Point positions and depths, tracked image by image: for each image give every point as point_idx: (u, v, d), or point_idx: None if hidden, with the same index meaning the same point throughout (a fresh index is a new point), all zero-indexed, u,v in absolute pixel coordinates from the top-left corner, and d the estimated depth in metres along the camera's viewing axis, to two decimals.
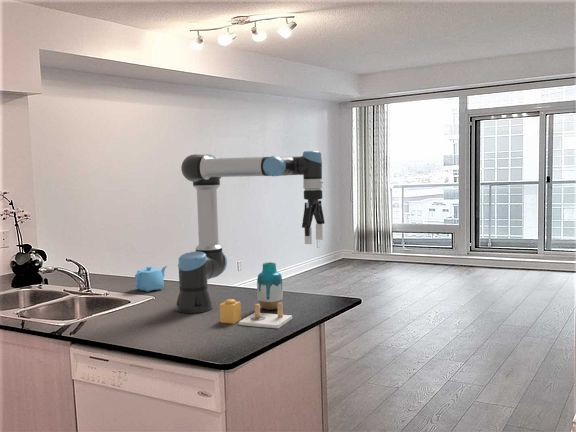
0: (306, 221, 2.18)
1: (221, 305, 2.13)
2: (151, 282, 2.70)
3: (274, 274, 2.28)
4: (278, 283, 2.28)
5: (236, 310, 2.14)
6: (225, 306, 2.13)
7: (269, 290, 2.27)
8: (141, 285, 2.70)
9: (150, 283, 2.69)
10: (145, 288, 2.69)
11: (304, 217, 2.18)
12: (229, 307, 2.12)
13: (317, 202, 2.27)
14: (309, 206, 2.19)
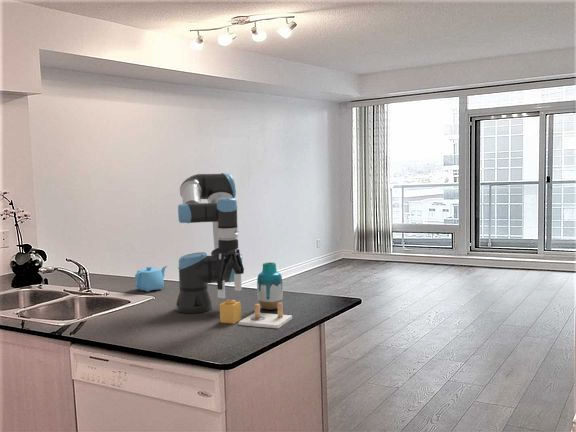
0: (218, 274, 2.05)
1: (221, 305, 2.13)
2: (151, 282, 2.70)
3: (274, 274, 2.28)
4: (278, 283, 2.28)
5: (236, 310, 2.14)
6: (225, 306, 2.13)
7: (269, 290, 2.27)
8: (141, 285, 2.70)
9: (150, 283, 2.69)
10: (145, 288, 2.69)
11: (216, 269, 2.06)
12: (229, 307, 2.12)
13: (233, 252, 2.15)
14: (221, 258, 2.07)
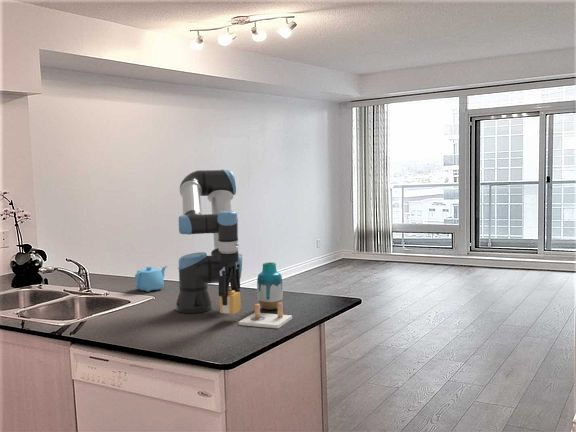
0: (222, 291, 2.09)
1: None
2: (151, 282, 2.70)
3: (274, 274, 2.28)
4: (278, 283, 2.28)
5: (236, 301, 2.14)
6: None
7: (269, 290, 2.27)
8: (141, 285, 2.70)
9: (150, 283, 2.69)
10: (145, 288, 2.69)
11: (219, 287, 2.09)
12: None
13: (234, 263, 2.16)
14: (223, 275, 2.08)
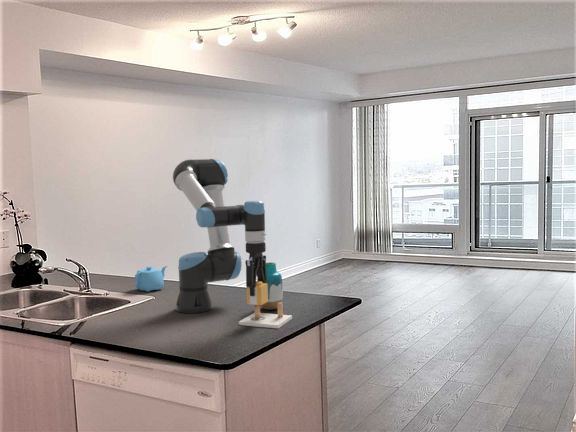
0: (250, 281, 2.06)
1: (248, 287, 2.10)
2: (151, 282, 2.70)
3: (274, 274, 2.28)
4: (278, 283, 2.28)
5: (263, 292, 2.11)
6: None
7: (269, 290, 2.27)
8: (141, 285, 2.70)
9: (150, 283, 2.69)
10: (145, 288, 2.69)
11: (247, 277, 2.06)
12: None
13: (261, 254, 2.13)
14: (250, 265, 2.06)
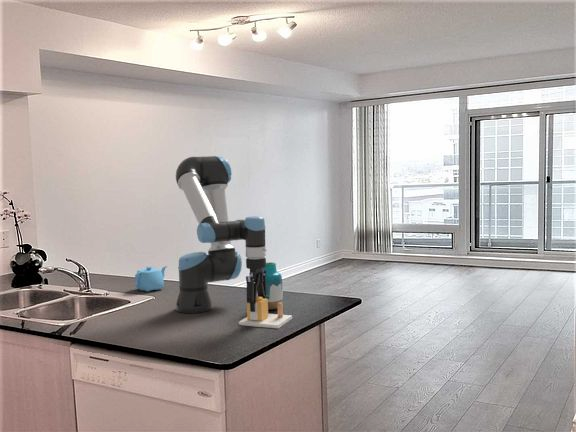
0: (250, 297, 2.07)
1: None
2: (151, 282, 2.70)
3: (274, 274, 2.28)
4: (278, 283, 2.28)
5: (263, 308, 2.11)
6: None
7: (269, 290, 2.27)
8: (141, 285, 2.70)
9: (150, 283, 2.69)
10: (145, 288, 2.69)
11: (247, 293, 2.07)
12: None
13: (261, 269, 2.14)
14: (251, 281, 2.06)
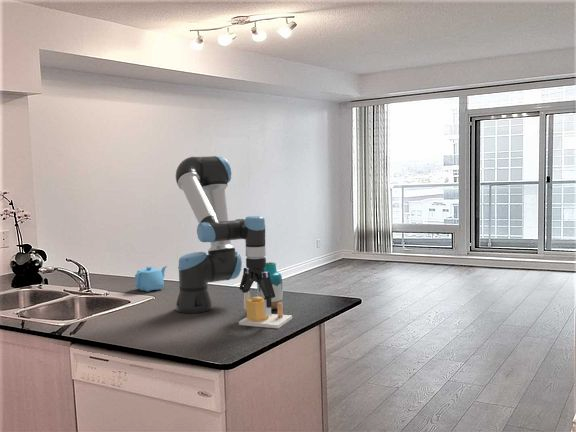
0: (272, 292, 2.06)
1: (256, 303, 2.09)
2: (151, 282, 2.70)
3: (274, 274, 2.28)
4: (278, 283, 2.28)
5: None
6: (260, 303, 2.11)
7: None
8: (141, 285, 2.70)
9: (150, 283, 2.69)
10: (145, 288, 2.69)
11: (268, 288, 2.05)
12: (263, 303, 2.12)
13: None
14: (268, 275, 2.07)
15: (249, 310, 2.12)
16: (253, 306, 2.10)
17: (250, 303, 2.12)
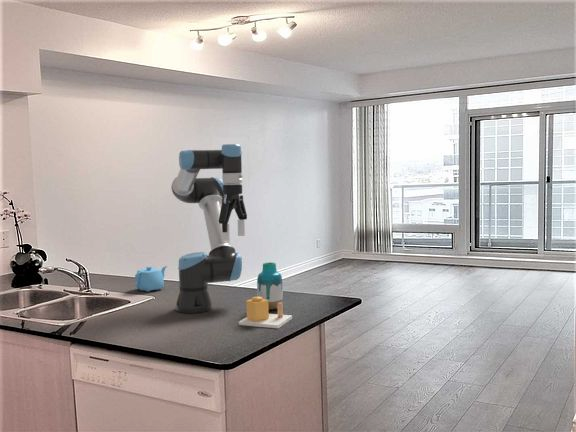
0: (223, 217, 2.10)
1: (256, 303, 2.09)
2: (151, 282, 2.70)
3: (274, 274, 2.28)
4: (278, 283, 2.28)
5: None
6: (260, 303, 2.11)
7: (269, 290, 2.27)
8: (141, 285, 2.70)
9: (150, 283, 2.69)
10: (145, 288, 2.69)
11: (221, 213, 2.11)
12: (263, 303, 2.12)
13: (237, 197, 2.20)
14: (226, 201, 2.12)
15: (249, 310, 2.12)
16: (253, 306, 2.10)
17: (250, 303, 2.12)
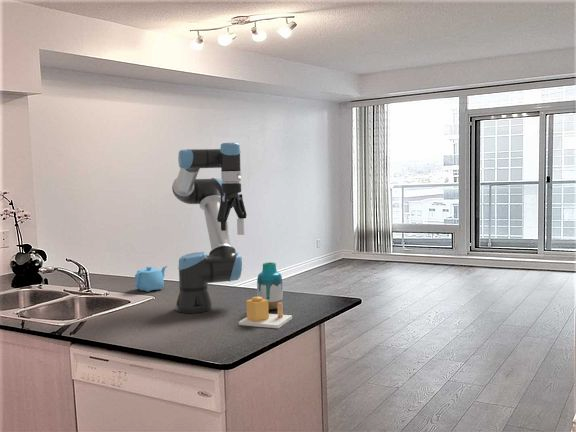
0: (221, 215, 2.10)
1: (256, 303, 2.09)
2: (151, 282, 2.70)
3: (274, 274, 2.28)
4: (278, 283, 2.28)
5: None
6: (260, 303, 2.11)
7: (269, 290, 2.27)
8: (141, 285, 2.70)
9: (150, 283, 2.69)
10: (145, 288, 2.69)
11: (219, 211, 2.11)
12: (263, 303, 2.12)
13: (236, 196, 2.20)
14: (225, 200, 2.12)
15: (249, 310, 2.12)
16: (253, 306, 2.10)
17: (250, 303, 2.12)
